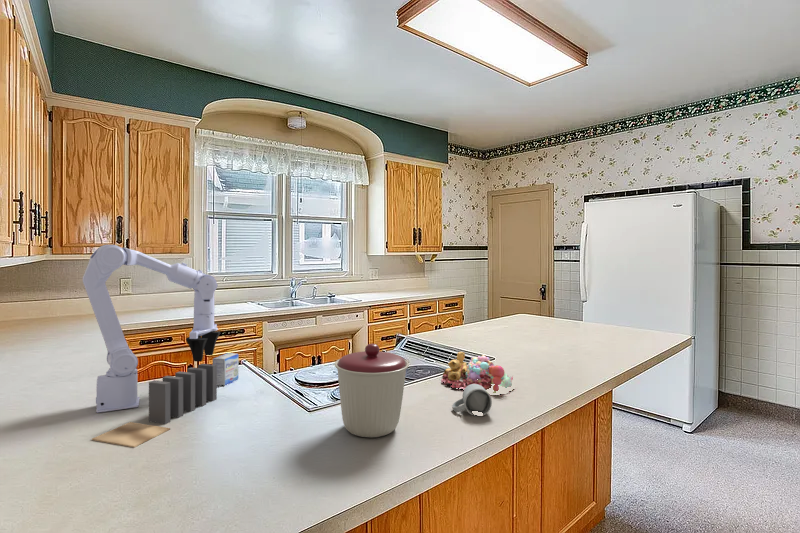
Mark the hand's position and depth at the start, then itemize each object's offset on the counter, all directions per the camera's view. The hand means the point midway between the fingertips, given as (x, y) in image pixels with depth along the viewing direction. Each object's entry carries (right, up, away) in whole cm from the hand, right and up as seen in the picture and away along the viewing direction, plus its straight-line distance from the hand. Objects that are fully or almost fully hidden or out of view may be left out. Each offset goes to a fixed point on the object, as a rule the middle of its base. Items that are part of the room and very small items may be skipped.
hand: (203, 358), depth 132 cm
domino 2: (+1, -11, -19) cm, 22 cm away
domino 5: (+4, -11, -7) cm, 13 cm away
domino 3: (+2, -11, -15) cm, 19 cm away
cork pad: (-2, -11, -31) cm, 33 cm away
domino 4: (+3, -11, -11) cm, 16 cm away
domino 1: (0, -11, -23) cm, 26 cm away
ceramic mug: (+80, -12, -12) cm, 81 cm away
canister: (+53, -12, -25) cm, 60 cm away
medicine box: (+3, -10, +10) cm, 14 cm away
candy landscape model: (+86, -12, +14) cm, 88 cm away
